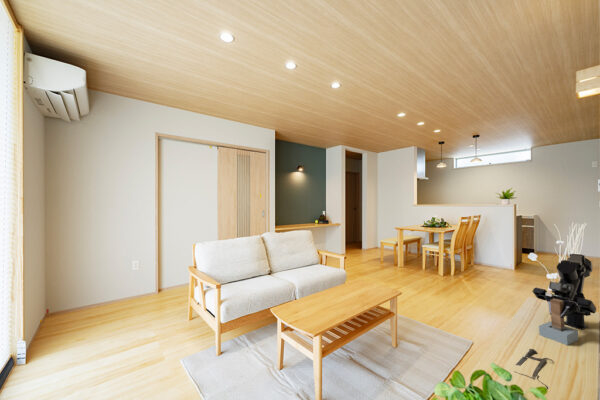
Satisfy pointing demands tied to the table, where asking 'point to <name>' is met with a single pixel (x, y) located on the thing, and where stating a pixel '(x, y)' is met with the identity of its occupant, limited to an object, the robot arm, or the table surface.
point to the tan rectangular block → (557, 314)
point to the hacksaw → (538, 368)
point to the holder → (558, 334)
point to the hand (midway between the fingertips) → (555, 316)
